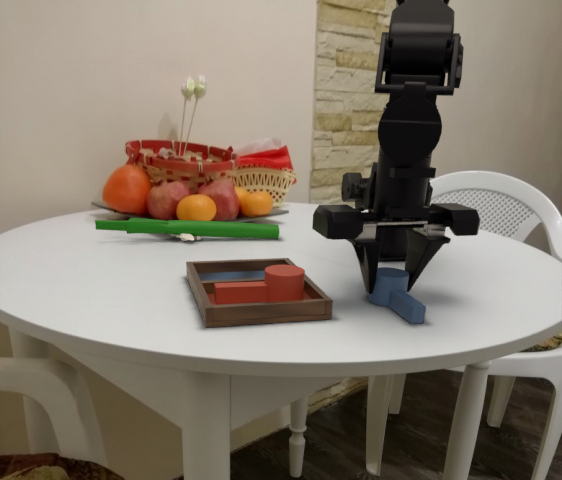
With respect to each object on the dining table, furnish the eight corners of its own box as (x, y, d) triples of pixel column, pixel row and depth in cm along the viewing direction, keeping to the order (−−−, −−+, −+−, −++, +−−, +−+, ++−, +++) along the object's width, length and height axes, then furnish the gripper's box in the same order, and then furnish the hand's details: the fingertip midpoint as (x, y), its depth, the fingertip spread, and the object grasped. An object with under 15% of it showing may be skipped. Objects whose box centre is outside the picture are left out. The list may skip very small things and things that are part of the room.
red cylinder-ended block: (297, 292, 66) (299, 263, 64) (307, 304, 62) (309, 275, 60) (213, 295, 64) (212, 266, 62) (217, 308, 60) (217, 278, 58)
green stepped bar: (274, 240, 97) (97, 234, 90) (275, 221, 95) (95, 213, 88) (280, 247, 93) (95, 241, 85) (281, 228, 91) (93, 220, 84)
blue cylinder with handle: (361, 295, 68) (364, 267, 67) (395, 293, 69) (398, 266, 68) (398, 325, 60) (402, 294, 58) (435, 322, 61) (441, 292, 59)
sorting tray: (287, 273, 76) (288, 257, 75) (331, 319, 60) (333, 300, 59) (186, 277, 72) (186, 261, 71) (205, 327, 57) (205, 307, 56)
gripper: (442, 149, 69) (424, 270, 76) (301, 147, 64) (295, 276, 71) (495, 158, 59) (468, 296, 66) (334, 157, 54) (323, 305, 62)
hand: (387, 292), depth 66 cm, fingers closed on blue cylinder with handle, 4 cm apart
